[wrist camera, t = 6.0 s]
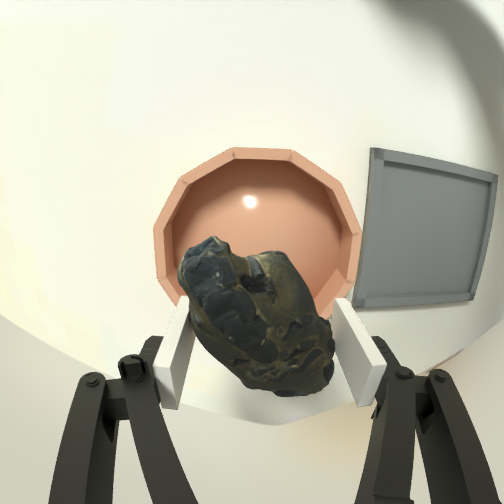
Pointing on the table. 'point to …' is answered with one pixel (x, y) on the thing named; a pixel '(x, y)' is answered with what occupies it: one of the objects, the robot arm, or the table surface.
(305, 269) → the bowl
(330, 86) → the table surface
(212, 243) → the stone
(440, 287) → the tray
